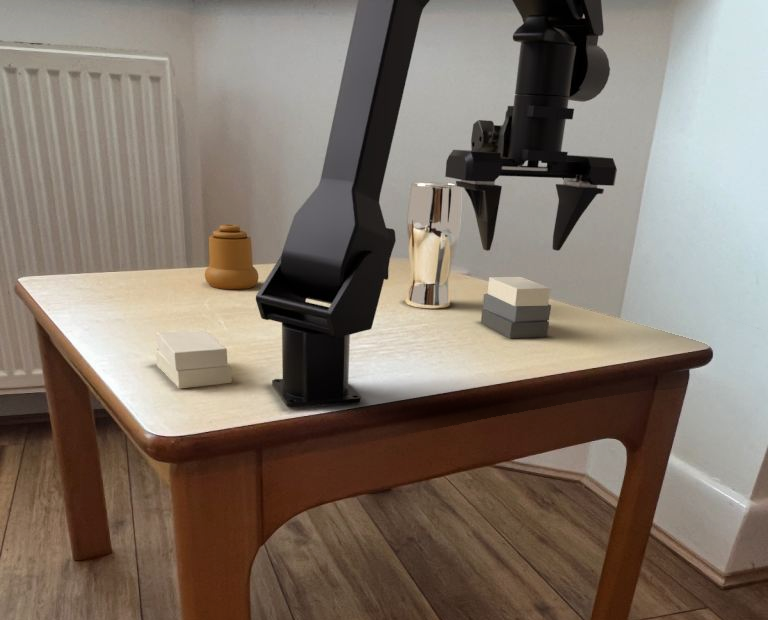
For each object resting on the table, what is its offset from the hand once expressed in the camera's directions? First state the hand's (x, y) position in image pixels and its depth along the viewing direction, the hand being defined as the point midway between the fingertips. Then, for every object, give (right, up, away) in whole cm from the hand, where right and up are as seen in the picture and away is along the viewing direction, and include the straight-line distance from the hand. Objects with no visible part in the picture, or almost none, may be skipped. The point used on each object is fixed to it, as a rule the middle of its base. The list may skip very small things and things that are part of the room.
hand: (521, 250), depth 86 cm
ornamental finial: (-38, +2, +20) cm, 43 cm away
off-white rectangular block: (0, -5, +3) cm, 6 cm away
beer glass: (-10, -2, +15) cm, 18 cm away
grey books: (0, -8, +4) cm, 9 cm away
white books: (-34, -18, -18) cm, 42 cm away
